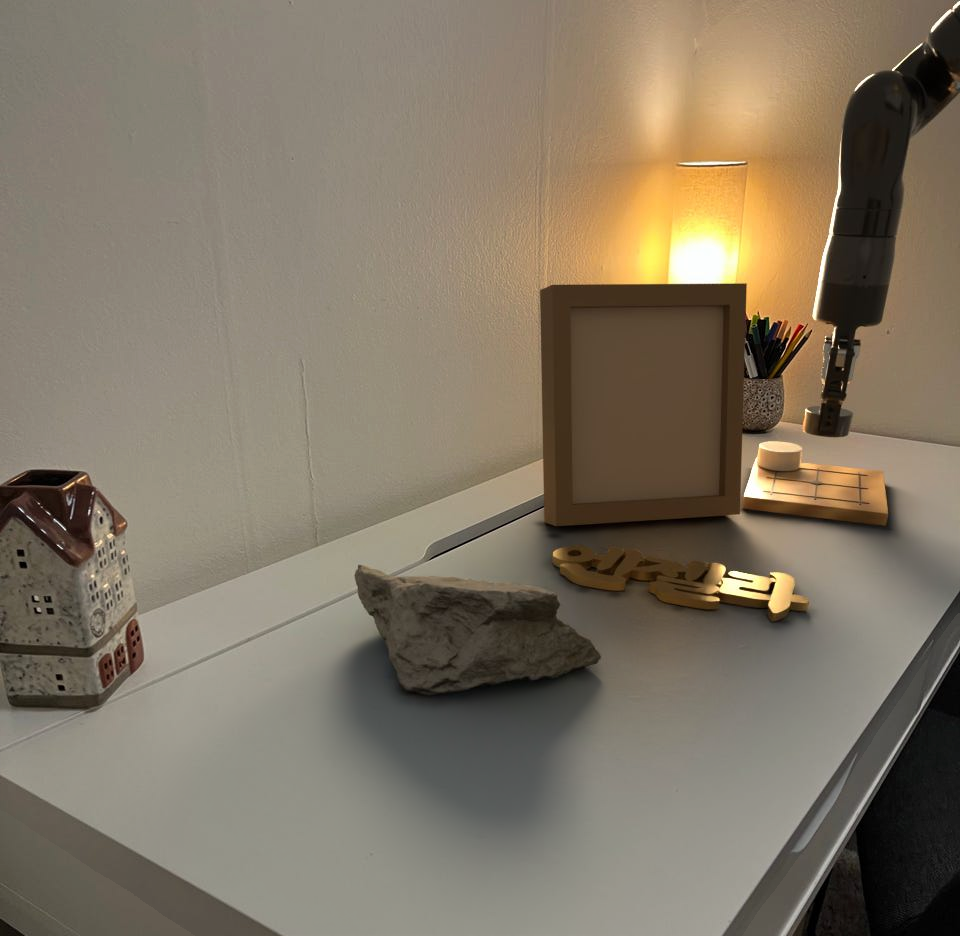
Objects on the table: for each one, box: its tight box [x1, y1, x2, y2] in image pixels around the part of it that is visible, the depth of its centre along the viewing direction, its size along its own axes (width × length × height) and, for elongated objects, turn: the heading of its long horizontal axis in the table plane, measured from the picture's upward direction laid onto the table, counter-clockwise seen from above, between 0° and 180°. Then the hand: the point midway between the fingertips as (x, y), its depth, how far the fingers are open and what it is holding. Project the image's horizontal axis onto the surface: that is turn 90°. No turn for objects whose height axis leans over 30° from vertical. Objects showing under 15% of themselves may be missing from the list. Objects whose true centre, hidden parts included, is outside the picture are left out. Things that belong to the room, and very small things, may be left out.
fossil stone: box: [354, 564, 602, 697], centre depth 76 cm, size 20×15×10 cm
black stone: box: [801, 405, 854, 438], centre depth 114 cm, size 5×5×2 cm
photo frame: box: [539, 282, 748, 527], centre depth 107 cm, size 15×22×25 cm
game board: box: [741, 457, 889, 527], centre depth 118 cm, size 16×18×2 cm
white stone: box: [756, 440, 804, 471], centre depth 124 cm, size 5×5×2 cm
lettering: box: [552, 544, 810, 622], centre depth 92 cm, size 25×10×1 cm, turn 68°
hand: (826, 427), depth 115 cm, fingers closed on black stone, 5 cm apart
